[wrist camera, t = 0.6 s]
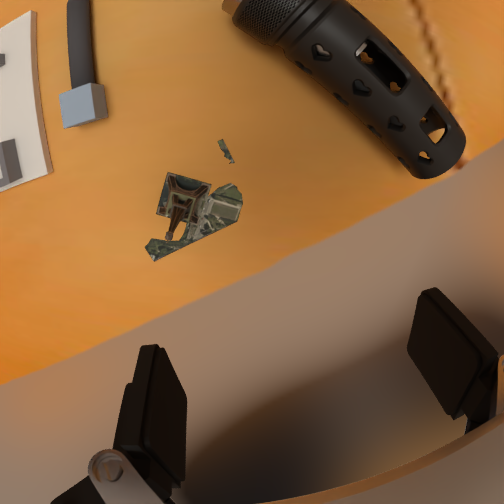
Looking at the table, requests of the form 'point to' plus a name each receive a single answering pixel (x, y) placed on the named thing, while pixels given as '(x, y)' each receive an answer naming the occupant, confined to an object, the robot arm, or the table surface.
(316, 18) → the muzzle brake
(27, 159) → the cable board
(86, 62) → the cable
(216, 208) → the eiffel tower figurine
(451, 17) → the table surface
